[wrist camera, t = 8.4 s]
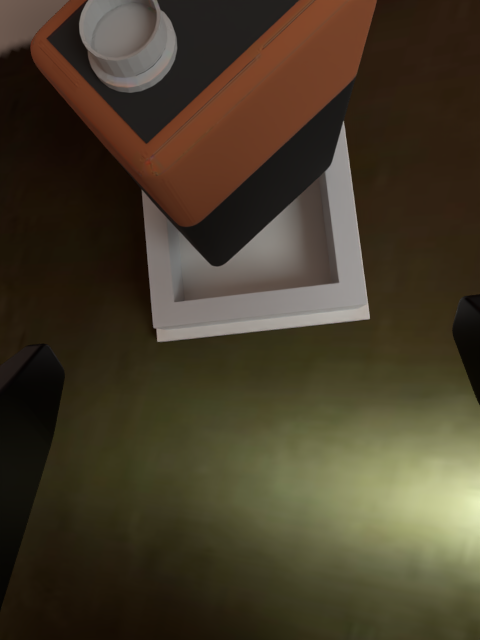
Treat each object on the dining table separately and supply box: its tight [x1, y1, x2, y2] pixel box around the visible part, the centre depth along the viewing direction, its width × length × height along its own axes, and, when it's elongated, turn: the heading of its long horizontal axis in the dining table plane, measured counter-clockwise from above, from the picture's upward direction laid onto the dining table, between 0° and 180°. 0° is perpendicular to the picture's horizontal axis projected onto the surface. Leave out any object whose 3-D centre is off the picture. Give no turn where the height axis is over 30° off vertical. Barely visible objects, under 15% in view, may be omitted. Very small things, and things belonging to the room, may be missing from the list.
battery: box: [31, 0, 377, 267], centre depth 12 cm, size 4×7×10 cm, turn 132°
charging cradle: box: [142, 121, 370, 342], centre depth 18 cm, size 13×10×3 cm
